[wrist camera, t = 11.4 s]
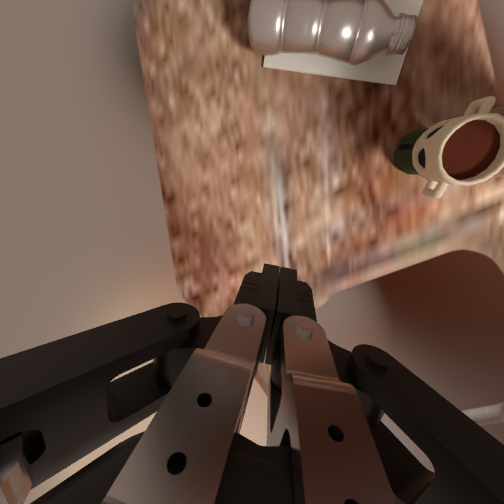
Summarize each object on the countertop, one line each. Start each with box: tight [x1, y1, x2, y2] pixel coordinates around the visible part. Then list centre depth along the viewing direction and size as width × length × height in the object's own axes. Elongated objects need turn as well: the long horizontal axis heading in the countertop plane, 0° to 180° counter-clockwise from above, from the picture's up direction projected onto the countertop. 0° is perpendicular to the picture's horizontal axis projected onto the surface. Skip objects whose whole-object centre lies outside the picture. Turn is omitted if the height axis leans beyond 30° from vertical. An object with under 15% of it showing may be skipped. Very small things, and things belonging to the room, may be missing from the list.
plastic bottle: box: [247, 0, 417, 66], centre depth 30 cm, size 6×7×20 cm
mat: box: [263, 0, 423, 85], centre depth 33 cm, size 19×10×1 cm, turn 81°
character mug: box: [395, 96, 504, 199], centre depth 31 cm, size 11×7×13 cm, turn 165°
